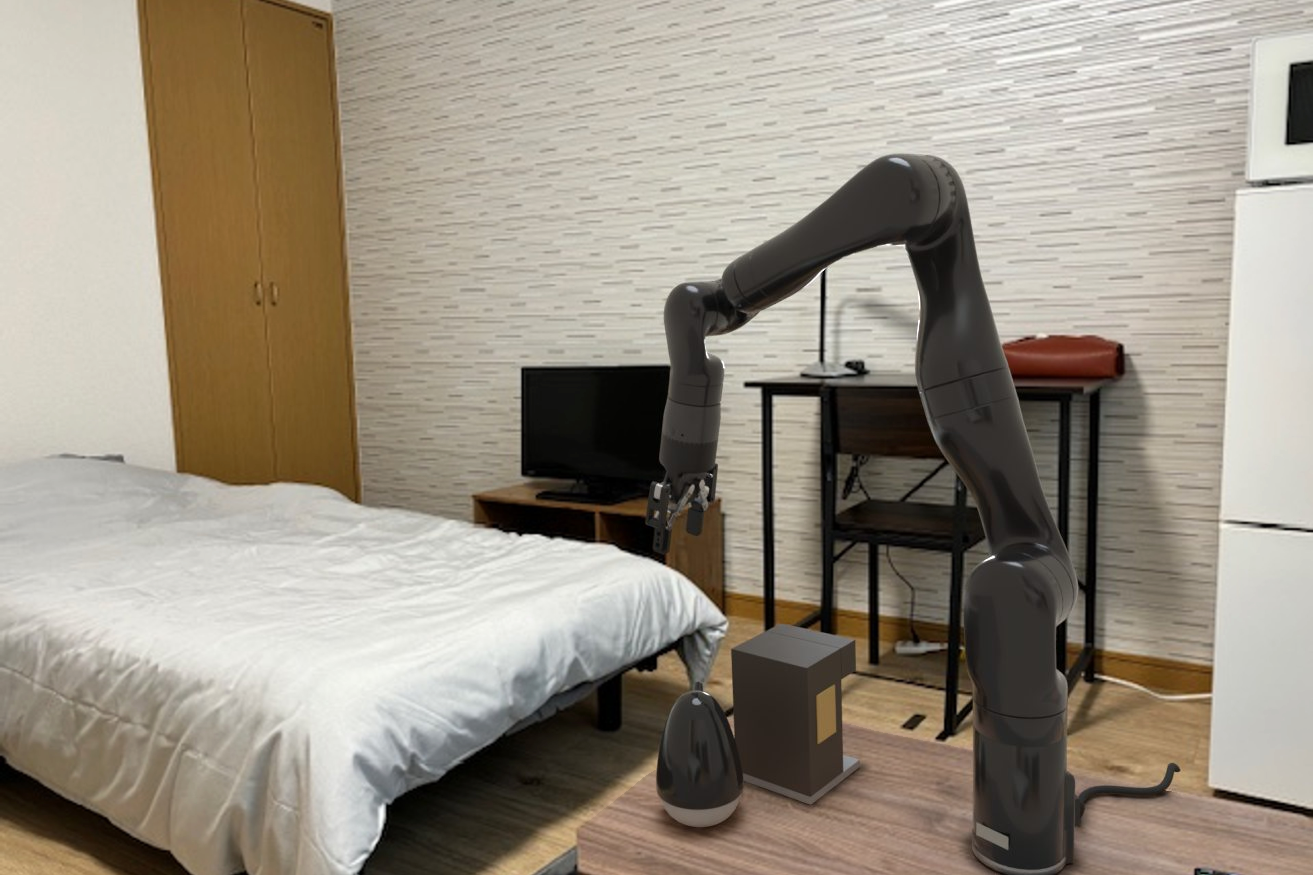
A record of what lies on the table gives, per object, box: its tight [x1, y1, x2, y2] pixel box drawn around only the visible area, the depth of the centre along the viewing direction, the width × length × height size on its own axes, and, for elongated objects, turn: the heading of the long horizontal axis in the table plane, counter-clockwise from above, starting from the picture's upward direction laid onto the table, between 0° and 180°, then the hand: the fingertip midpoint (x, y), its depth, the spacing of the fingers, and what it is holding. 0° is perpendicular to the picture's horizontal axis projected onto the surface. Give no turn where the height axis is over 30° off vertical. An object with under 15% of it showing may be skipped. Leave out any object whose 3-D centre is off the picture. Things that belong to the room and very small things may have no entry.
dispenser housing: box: [730, 623, 861, 805], centre depth 123 cm, size 12×11×17 cm
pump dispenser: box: [655, 681, 745, 828], centre depth 115 cm, size 10×10×15 cm
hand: (677, 542), depth 136 cm, fingers open, 8 cm apart
